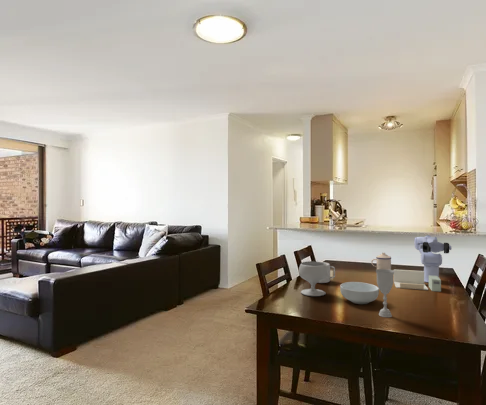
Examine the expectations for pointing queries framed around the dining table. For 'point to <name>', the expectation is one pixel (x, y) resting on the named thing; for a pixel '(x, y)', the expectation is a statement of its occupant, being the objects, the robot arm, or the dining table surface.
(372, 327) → the dining table surface
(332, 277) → the mug
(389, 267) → the teacup with lid
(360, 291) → the cereal bowl
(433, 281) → the cabinet block
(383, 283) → the chalice
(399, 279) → the cream l-shaped stand
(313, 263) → the chalice
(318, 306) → the dining table surface
